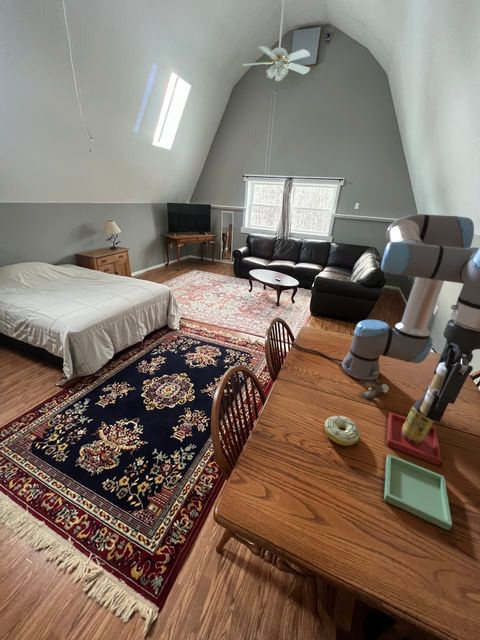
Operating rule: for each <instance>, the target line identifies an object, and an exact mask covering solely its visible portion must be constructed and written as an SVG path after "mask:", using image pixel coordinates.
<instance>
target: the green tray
mask: <svg viewBox="0 0 480 640" xmlns="http://www.w3.org/2000/svg"><path fill="white" fill-rule="evenodd" d="M384 472H385V475H384V491H383V492H384V494H383V501H385V502H387V503H389V504H391V505H393V506H395V507H398V508H400V509H402V510H404V511H406V512H408V513H410V514H413V515H414V516H417V517H419V518H421V519H423V520H425V521H427V522H429V523H431V524H433V525H436V526H438V527H440V528H442V529H444V530H446V531H451V528H452V527H453V521H452V515H451V510H450V504H449V503H450V502H449V497H448V492H447V485H446V479H445V476H444V475H442V474H439V473H437V472H435V471H431V470H430V469H427V468H424V467H422V466H419V465H417V464H414V463H412V462H409V461H407V460H405V459H402V458H399V457H397V456H395V455H392V454H390V453H388V454H386V458H385V471H384Z"/></svg>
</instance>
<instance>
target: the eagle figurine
mask: <svg viewBox="0 0 480 640" xmlns="http://www.w3.org/2000/svg"><path fill="white" fill-rule="evenodd" d="M359 384H360V386H364V387H367V388H368V389H367V391H365V392H362V393H361V396H362V398H363V399H367V400H374V399H377V398H378V397H380V396H381V395H382V392H383V393H387V392H389V390H390V386H388V384H386V383H383V384H382V381H381V380H379V377H378V378H377V379H376V381H375V380H372V379H364V380H360V381H359Z"/></svg>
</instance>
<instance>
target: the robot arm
mask: <svg viewBox="0 0 480 640" xmlns="http://www.w3.org/2000/svg"><path fill="white" fill-rule="evenodd" d="M474 235H475V225H474V221H473V220H472V219H471V218H470V217H466V216H459V215H440V214H439V215H438V214H424V213H415V214H409V215H404V216H402V217H400V218H397V219H396V220H394V221H393V222H392V223H390V224H389V226H388V227H387V229H386V232H385V241H386V243H387V244H386V247H385V249H384V252H383V255H382V260H381V266H380V269H381V271H382V272H383V273H386V274H390V275H391V274H392V275H394V276H403V277H404V276H405V277H412V278H413V277H414V281H413V284H412V288H411V290H410V294H409V297H408V298H407V299H408V300H407V302H406V306H405V309H404V312H403V315H402V318H401V321H400V322H397V323H396V324H395V325H394V328H393V327H390V326H389V324H388V323H387V322H385V321H382V320H378V319H364V320H361V321H358V322H357V324H356V325H355V330H354V331H353V338H352V341H351V345H350V349H349V352H348V353H347V354H346V356H345V357H344V358H343V359H339V358H334V357H331V356H328V355H326V354H325V353H322V352H320V351H318V350H315V349H310V348H305V347H301V346H300V345H298V344H297V343H295V342H292V343H290V345H291V346H293V345H294V346H296V348H298V349H300V350H303V351H308V352H312V353H316V354H319V355H321V356H323V357H325V358H326V359H329V360H331V361H336V362H340V363H341V369H342V371H343V372H344V373H345V374H346V375H347V376H349V377H350V378H353V379H356V380H359V381H362V380H364V379H372V380H373V381H375V380H376V381H377V378H378V379H379V376H380V361H379V359H380V356H383V357H385V358H390V359H394V360H399V361H402V362H406V363H412V364H421V363H423V362H424V361H425V360H426V359H427V357H428V355H429V354H430V352H431V350H432V346H433V343H434V342H433V337H432V336H430V335H431V332H430V330H429V329H428V326H429V323H430V321H431V318H432V315H433V312H434V311H435V310H434V309H435V307H436V305H437V301H438V299H439V297H440V294H441V291H442V288H443V285H444V283H445V282H449V283H456V284H461V285H462V287H461V290H460V292H459V295H458V297H457V301H456V304H452V305H450V309H451V310H452V311H451V314H450V318H451V319H449V320H448V321H447V323H446V325H445V328H444V330H443V333H442V335H443V337H444V338H445V345H444V347H443V351H442V352H441V355H440V357H439V359H438V362H437V364H436V366H435V369H434V371H433V375H434V376H435V374H436V369H437V367H438V365H439V364H440V363H442V362H444V363H445V367H446V372H445V375H444V377H443V380H442V383H441V385H440V388H439V391H438V393H433V396H434V398H433V400H432V402H431V405H430V407H429V409H428V411H427V413H426V418H429V419H432V420H435V421H434V422H438V423H440V422H441V420H442V418H443V417H444V414H445V412H446V410H447V408H448V406H449V404H451V405H454V404H456V403H455V402H456V400H457V398H458V396H459V394H460V392H461V390H462V388H463V386H464V384H465V382H466V381H467V378H468V377H469V375H470V374H471V372H472V371H473V369H474V367H473V366H472V365H469V364H470V363H472V360H473V358H474V354H473V351H476V350H480V247H473V246H472V244H473V240H474ZM451 365H453V366H451Z"/></svg>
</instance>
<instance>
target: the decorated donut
mask: <svg viewBox="0 0 480 640" xmlns="http://www.w3.org/2000/svg"><path fill="white" fill-rule="evenodd" d="M323 427H324V431H325V434H326V435H327V437H328V438H329V440H331V441H332V442H333V443H335V444H337V445H340V446H344V447H349V446H352V445H355V444H356V443H358V441H359V440H360V438H361V431H360V429H359V427H358V426H357V424H356V422H354V421H353V420H351V419H350V418H348V417H346V416H344V415H332V416H330V417H328V418H327V419H326V420H325V422H324V426H323Z"/></svg>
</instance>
